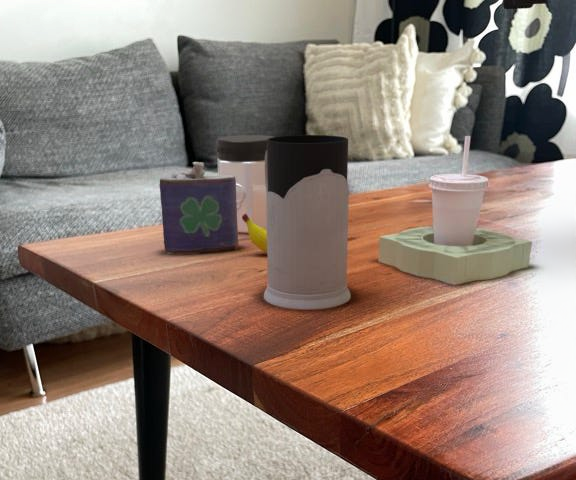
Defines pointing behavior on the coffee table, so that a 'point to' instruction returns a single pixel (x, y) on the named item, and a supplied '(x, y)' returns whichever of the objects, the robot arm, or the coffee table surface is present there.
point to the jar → (246, 175)
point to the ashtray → (454, 255)
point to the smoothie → (457, 204)
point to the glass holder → (307, 221)
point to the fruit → (256, 234)
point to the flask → (199, 212)
